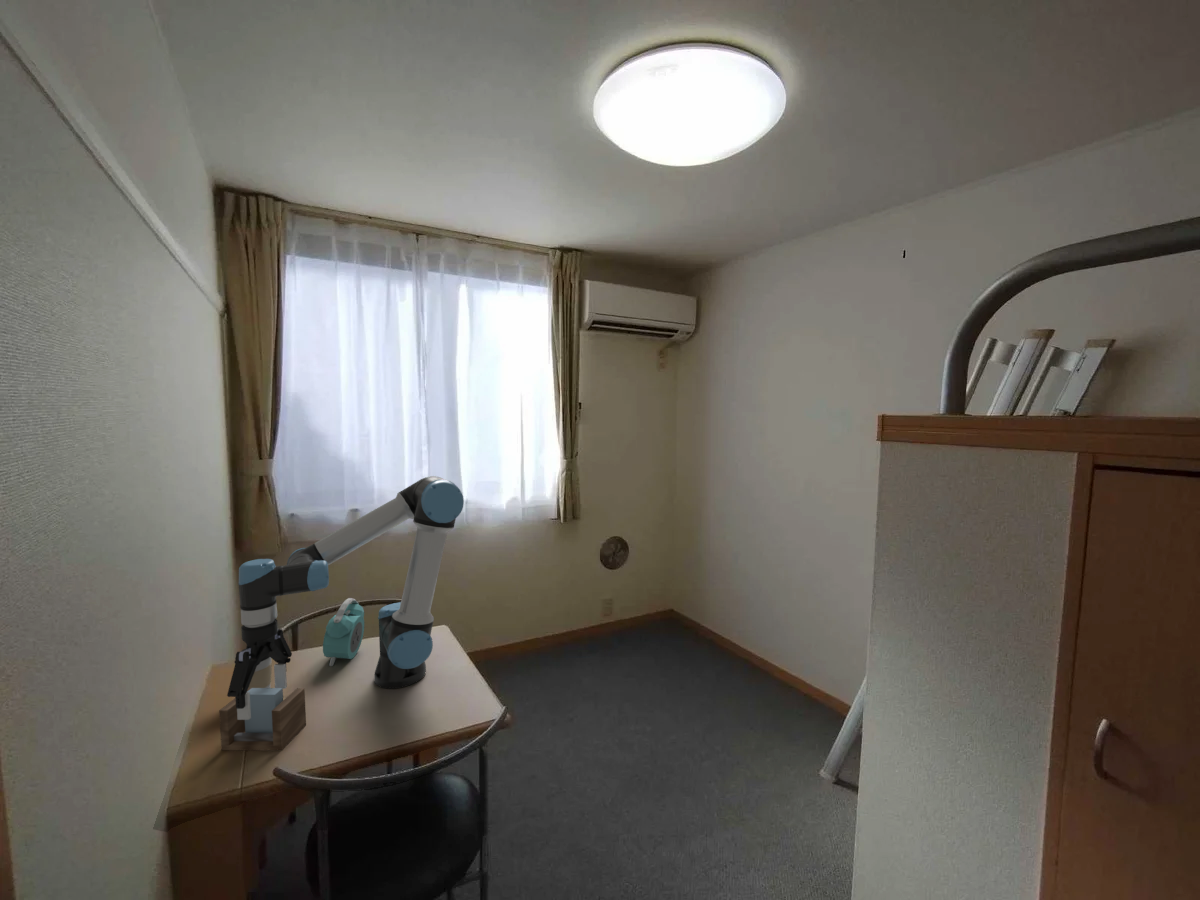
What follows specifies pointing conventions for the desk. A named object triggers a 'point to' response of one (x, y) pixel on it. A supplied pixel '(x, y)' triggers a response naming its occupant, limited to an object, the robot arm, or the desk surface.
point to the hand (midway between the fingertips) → (263, 702)
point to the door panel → (262, 709)
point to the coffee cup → (261, 673)
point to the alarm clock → (344, 632)
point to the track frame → (285, 727)
